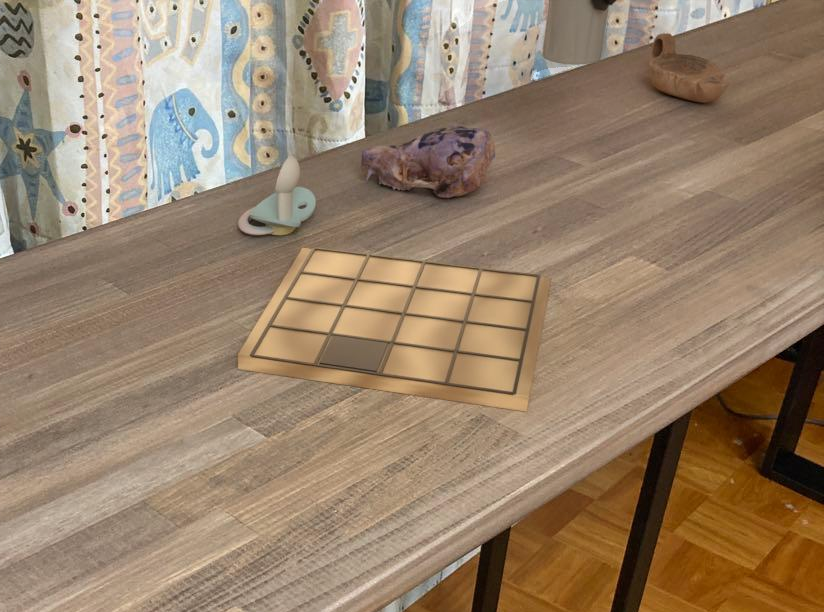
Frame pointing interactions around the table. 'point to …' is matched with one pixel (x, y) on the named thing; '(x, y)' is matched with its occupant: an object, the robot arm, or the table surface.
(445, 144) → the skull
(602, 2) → the robot arm
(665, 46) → the oil lamp
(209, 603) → the table surface
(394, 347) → the board
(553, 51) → the grey upright cylinder
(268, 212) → the pacifier
